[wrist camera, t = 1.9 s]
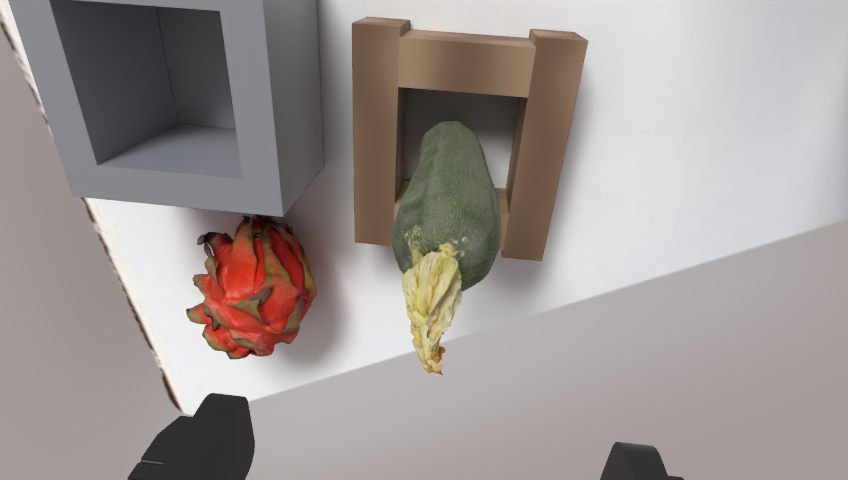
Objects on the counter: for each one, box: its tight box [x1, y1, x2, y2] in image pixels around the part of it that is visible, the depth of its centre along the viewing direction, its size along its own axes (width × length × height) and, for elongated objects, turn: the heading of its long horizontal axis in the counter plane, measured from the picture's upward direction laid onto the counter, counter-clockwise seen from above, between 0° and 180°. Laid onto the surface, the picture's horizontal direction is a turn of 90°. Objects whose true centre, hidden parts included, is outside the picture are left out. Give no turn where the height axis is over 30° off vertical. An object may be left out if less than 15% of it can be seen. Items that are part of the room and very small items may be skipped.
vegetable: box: [392, 121, 501, 375], centre depth 22 cm, size 4×4×20 cm
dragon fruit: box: [186, 213, 317, 359], centre depth 34 cm, size 8×8×12 cm
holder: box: [8, 0, 324, 217], centre depth 27 cm, size 12×12×8 cm
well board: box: [352, 17, 588, 261], centre depth 29 cm, size 12×13×4 cm
